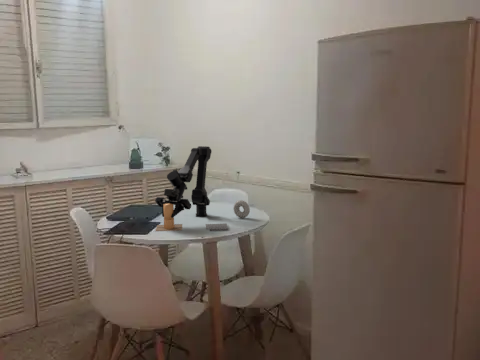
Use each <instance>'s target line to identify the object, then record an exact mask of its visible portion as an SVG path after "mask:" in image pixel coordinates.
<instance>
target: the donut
mask: <svg viewBox="0 0 480 360" xmlns="http://www.w3.org/2000/svg"><path fill="white" fill-rule="evenodd" d="M241 207H242V209H243V211H241V209H240V208H241ZM250 210H251V209H250V206H249V203H247V201H245V200H242V199H241V200H237V201H236V202H235V203H234V205H233V212H234V214H235V216H236V217H237V218H240V219H245V218H247V217H248V216H249V215H250V212H251V211H250Z"/></svg>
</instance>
